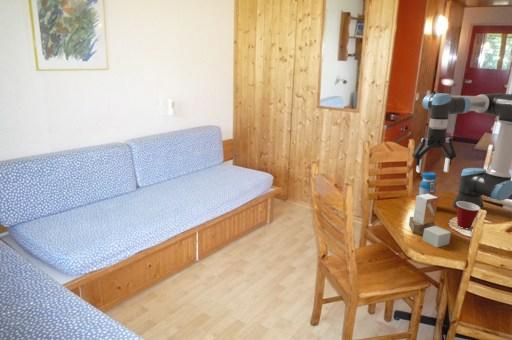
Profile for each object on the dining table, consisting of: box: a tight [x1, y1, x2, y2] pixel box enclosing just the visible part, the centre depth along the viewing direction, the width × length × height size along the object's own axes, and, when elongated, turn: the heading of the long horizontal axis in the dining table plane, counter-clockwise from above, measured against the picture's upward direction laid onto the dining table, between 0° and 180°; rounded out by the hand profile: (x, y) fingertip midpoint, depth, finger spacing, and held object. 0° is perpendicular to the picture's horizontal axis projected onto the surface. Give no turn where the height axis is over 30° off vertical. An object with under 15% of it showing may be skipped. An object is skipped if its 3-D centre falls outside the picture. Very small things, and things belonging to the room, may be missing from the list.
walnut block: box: [408, 216, 437, 235], centre depth 189 cm, size 10×10×5 cm
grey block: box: [422, 225, 452, 248], centre depth 176 cm, size 8×8×6 cm
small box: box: [412, 194, 439, 225], centre depth 187 cm, size 8×6×13 cm
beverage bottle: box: [418, 171, 437, 196], centre depth 217 cm, size 8×8×20 cm
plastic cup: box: [456, 201, 480, 229], centre depth 192 cm, size 11×11×12 cm
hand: (432, 171), depth 183 cm, fingers open, 13 cm apart
